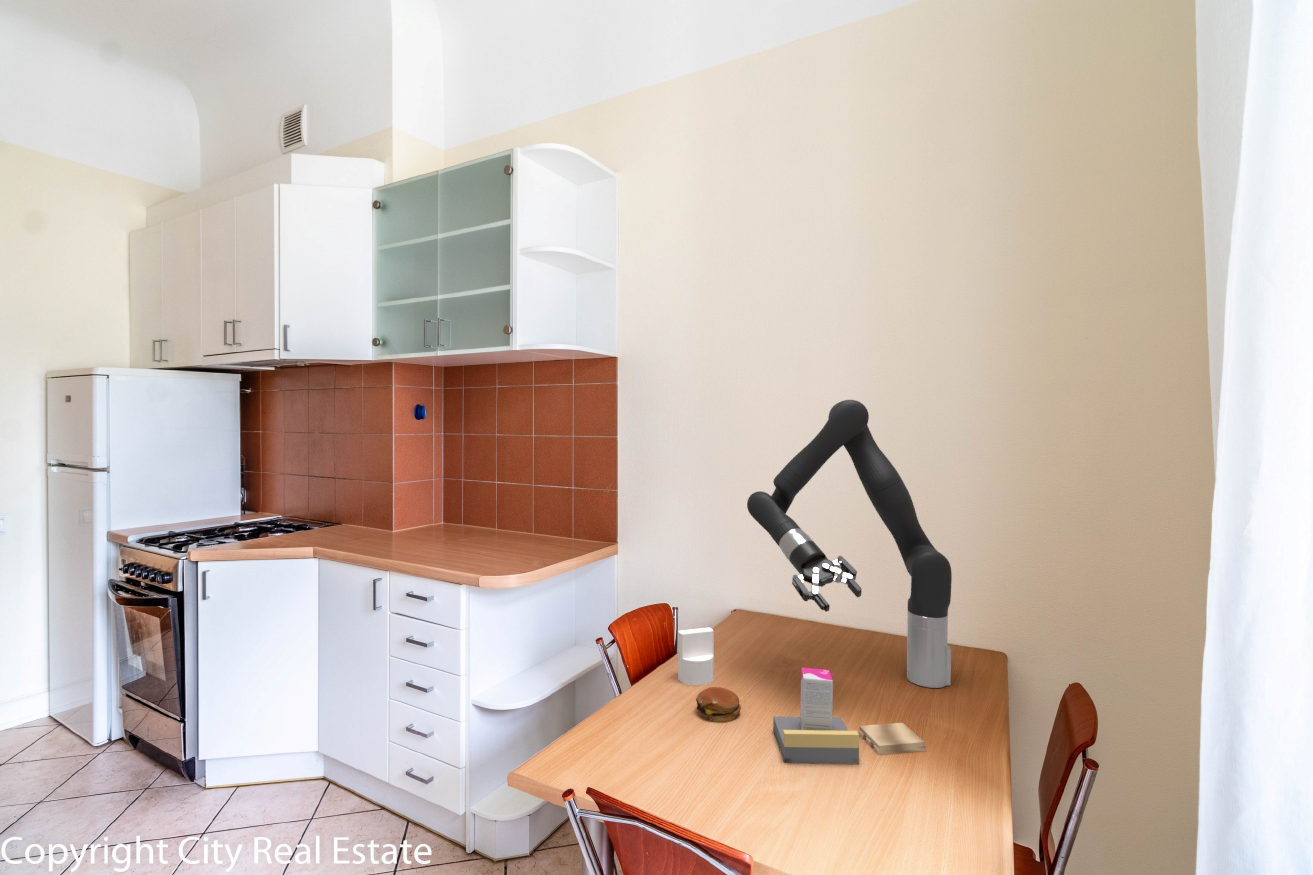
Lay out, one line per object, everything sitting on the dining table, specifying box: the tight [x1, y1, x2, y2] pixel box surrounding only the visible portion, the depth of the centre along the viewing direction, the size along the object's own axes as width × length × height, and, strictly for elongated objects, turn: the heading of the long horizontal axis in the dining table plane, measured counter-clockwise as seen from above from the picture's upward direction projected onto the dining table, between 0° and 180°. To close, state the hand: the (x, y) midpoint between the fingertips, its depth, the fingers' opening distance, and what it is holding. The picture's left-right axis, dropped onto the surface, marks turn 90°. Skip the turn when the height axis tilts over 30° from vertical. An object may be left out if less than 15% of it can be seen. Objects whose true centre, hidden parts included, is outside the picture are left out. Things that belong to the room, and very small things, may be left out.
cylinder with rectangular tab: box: [677, 626, 715, 686], centre depth 151 cm, size 9×9×12 cm
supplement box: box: [799, 667, 834, 730], centre depth 119 cm, size 6×6×12 cm
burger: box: [695, 686, 742, 724], centre depth 133 cm, size 10×9×5 cm
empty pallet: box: [858, 722, 927, 756], centre depth 120 cm, size 10×8×2 cm
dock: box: [772, 715, 860, 765], centre depth 118 cm, size 14×12×6 cm
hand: (844, 601), depth 132 cm, fingers open, 8 cm apart
